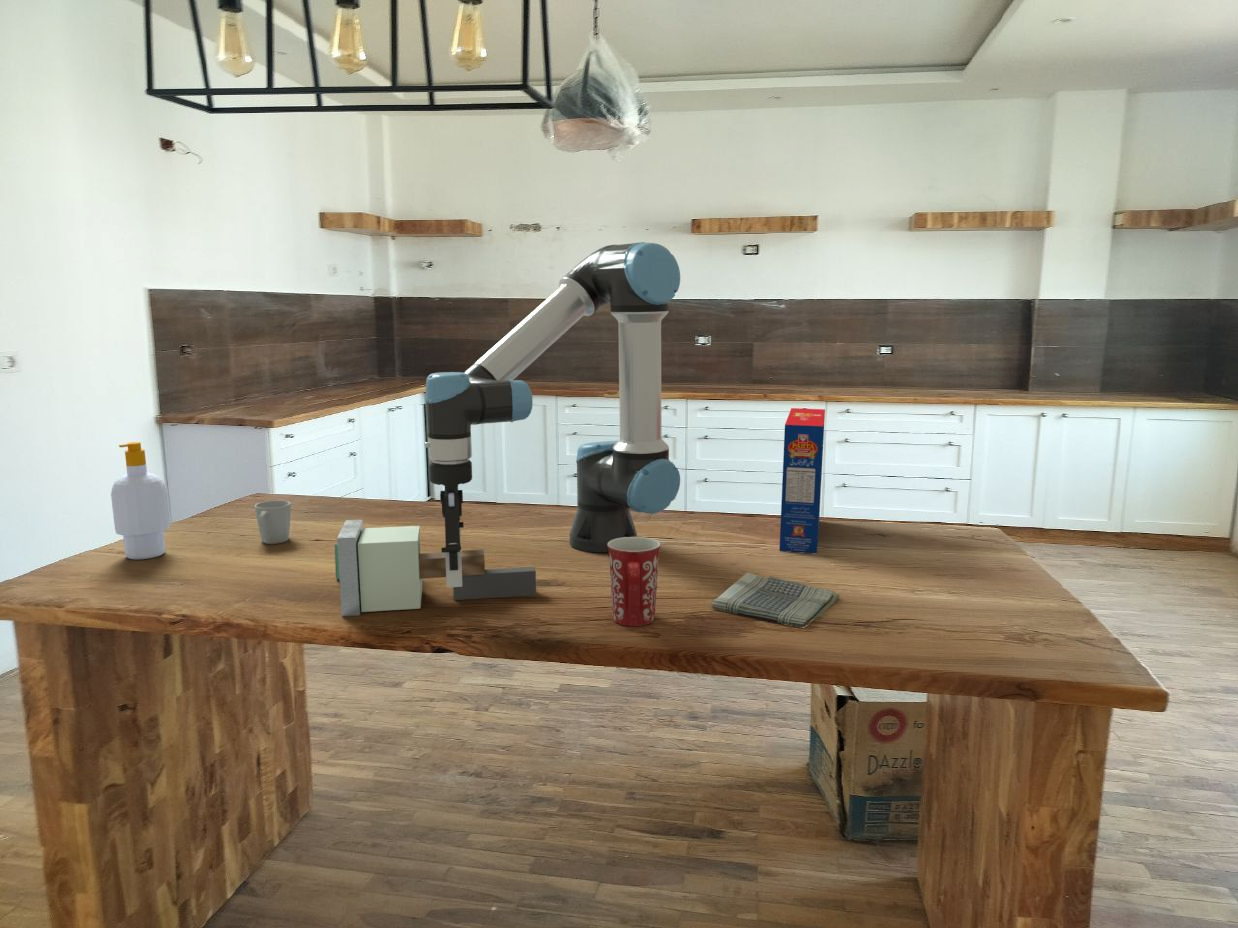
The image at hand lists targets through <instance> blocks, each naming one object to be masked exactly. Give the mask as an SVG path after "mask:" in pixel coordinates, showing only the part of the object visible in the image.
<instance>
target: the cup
mask: <svg viewBox="0 0 1238 928" xmlns="http://www.w3.org/2000/svg"><path fill="white" fill-rule="evenodd" d="M291 505H292V503H291V502H290V501H289V500H282V499H278V500H277V499H275V500H266V501H262V502H261V501H260V502H257V503H255V504H254V512H255V516H256V522H257V527H258V531H259V534H260V539H261V542H262V543H263V544H267V545H276V544H278V545H279V544H282V543H286V542H287V541H289V539H290V531H291V529H290V528H291V509H292V506H291Z"/></svg>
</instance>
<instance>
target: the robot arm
mask: <svg viewBox="0 0 1238 928" xmlns="http://www.w3.org/2000/svg"><path fill="white" fill-rule="evenodd" d="M680 283H681V270H680V266H679V263H678V261H677V259H676V258H675V256H674V254H672V253H671V251H670V250H669V249H668V248H667V247H665V246H663V245H661V244H659V243H655V242H644V241H642V242H641V241H640V242H633V243H632V242H631V243H625V244H609V245H605V246H602V247H600V248H598V249H597V250H595V251H594V252H592V253H590V254H589V255H588V256H586V257H585V258H584V259H583V260H581V261H580V262H578V264H577V265H575V266H574V267H573V268H572V269H570V270H569V272H567V273H566V274H565V275H563V277H562V278H560V280H559V282H558V288H556V290H555V291H554V292H552V294H550V295H549V296H548V297H546V299H545V300H544V301H543V302H541V303H540V304H539V305H538V306H537V307H536V308H534V310H532V311H531V312H530V313H529V314H528V315H527V316H526V317H525V318H524V319H522V320H521V321H520V322H519V323H518V324H517V325H515V327H513V328H512V329H511V330H510V331H509V332H508V333H507V334H506V335H505V336H504V337H503V338H501V339H500V340H499V341H498V342H497V343H496V344H495V345H493V346H492V347H491V348H490V349H489V350H488V351H487V352H485V353H484V354H483V355H482V356H481V357H480V358H479V359H477V361H475V362H474V363H473V364H472V365H471V366H469V368H467V369H466V370H465V371H464V372H461V371H459V372H458V371H456V372H455V371H449V372H446V371H445V372H444V371H443V372H441V371H440V372H434V373H430V374H429V375H428V376H427V378H426V379H425V380H426V381H425V383H426V384H425V397H424V398H425V399H424V401H425V406H426V408H425V409H426V421H427V423H426V424H427V425H426V426H427V441H425V442H424V447H425V448H426V449H427V448H428V459H430V460H431V461H430V462H429V463H428V472H429V473H428V478H429V481H430V483H432V484H433V485H437V486H440V485H441V486H444V490H440V493H439V497H440V499H439V501H440V504H441V515H442V517H443V518H444V531H445V532H444V533H445V534H444V536H445V538H444V539H445V546H444V547H441V548H440V549H441V551H440V552H442V553H444V552H445V559H446V577H445V579H446V581H445V582H446V588H453V587H462V562H461V551H462V537H461V536H462V534H461V532H462V531H461V529H464V526H465V525H464V521H461V517H462V516H463V515H462V514H463V511H462V510H463V506H462V504H463V503H464V496H463V489H459V485H464V484H465V485H466V484H468V483H470V482H471V481H472V480H473V463H472V461H471V460H470V459H471V458H472V456H473V453H472V451H473V450H472V426H476V425H483V424H496V423H507V422H510V423H513V422H516V421H517V422H519V421H523V420H526V419H527V418H528V417H530V414H532V410H533V393H532V390H531V388H530V386H529V384H528V383H526V382H525V381H524V380H521V379H519V380H517V379H516V378H517V377H518V376H519V375H520V374H521V373H523V371H525V370H526V369H527V368H528V367H529V366H530V365H532V363H533V362H534V361H536V360H537V359H538V358H539V357H540V356H541V355H543V353H544V352H545V351H546V350H547V349H549V348H550V347H551V346H552V345H553V344H554V343H555V342H556V341H557V340H559V339H560V338H561V337H562V336H563V335H564V334H565V333H566V332H567V331H569V330H570V329H571V327H573V326H575V324H576V323H577V322H578V321H579V320H580V319H581V318H583V317H585V316H586V317H591V316H592V315H593V314H594V313H596V312H597V310H600V309H601V308H602V307H605V306H606V305H610V315H611V316H612V317H614V318H615V319H616V320H617V323H618V324H617V325H618V382H619V384H618V386H619V387H618V390H619V393H618V394H619V395H618V396H619V439H618V440H607V441H606V440H605V441H596V442H595V441H594V442H587V443H583V444H580V446H579V447H578V448H577V451H576V452H577V454H576V460H575V463H576V482H577V483H576V485H577V487H576V488H577V489H576V497H577V498H576V500H577V503H576V504H577V505H576V507H577V509H576V513H575V517H574V518H573V522H572V525H571V529H570V531H569V546H571V547H572V548H574V549H577V550H580V551H585V552H589V553H590V552H591V553H609V549H608V546H607V543H608V542H609V541H611V540H613V539H617V538H623V537H638V533H637V530H636V526H635V522H634V520H633V516H632V514H631V511H630V510H632V511H634V512H635V513H644V514H650V515H651V514H653V515H654V514H658V513H660V512H662V511H664V510H665V509H667V508H668V507H669V506H670V505H671V503H672V502H674V500H675V499H676V497H677V495H678V494H679V490H680V485H681V475H680V471H679V469H678V467H677V466H676V464H674V462H673V461H670V446H669V445H668V443H667V442H665V440H663V438H662V437H663V436H662V434H663V433H662V321H663V319H664V318H665V317H666V316H667V315H668V314H669V311H670V310H669V309H670V306H669V304H670V301H672V299H674V297H675V296H676V293H677V292H678V291H679V289H680V285H681V284H680ZM514 379H515V380H514Z"/></svg>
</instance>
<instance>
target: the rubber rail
mask: <svg viewBox="0 0 1238 928" xmlns="http://www.w3.org/2000/svg"><path fill="white" fill-rule="evenodd" d="M452 588H453V590H452V591H453V600H454V601H461V600H478V599H494V598H509V597H510V598H511V597H512V598H513V597H526V596H527V597H528V596H529V597H531V596H537V571H536V567H535V566H530V567H529V566H527V567H526V566H525V567H510V568H490V569H489V568H488V569H487V568H486V569H485V574H481V575H467V576H462V587H452Z"/></svg>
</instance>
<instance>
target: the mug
mask: <svg viewBox="0 0 1238 928" xmlns="http://www.w3.org/2000/svg"><path fill="white" fill-rule="evenodd" d="M607 546H608V549H609V552H608V560H609V562H608V563H609V565H608V566H609V574H610V575H609V576H610V577H609V579H610V593H611V612H612V620H613V621H614V622H615V623H617V624H619V625H622V626H627V627H642V626H646V625H649V624H651V623H653V622H654V621H655V619H656V618H655V617H656V603H657V588H658V586H657V585H658V574H659V573H658V572H659V560H660V559H659V557H660V549H661V546H662V545H661V543H660V541H658V540H656V539H652V538H649V537H640V536H637V537H623V538H617V539H613V540H611V541H609V542H608V543H607Z"/></svg>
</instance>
